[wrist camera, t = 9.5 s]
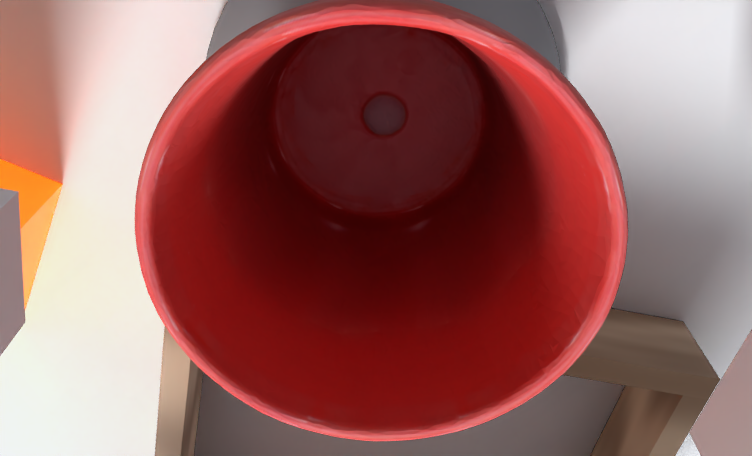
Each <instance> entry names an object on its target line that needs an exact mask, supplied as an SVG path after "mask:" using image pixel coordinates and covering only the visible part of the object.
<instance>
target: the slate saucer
mask: <svg viewBox="0 0 752 456" xmlns="http://www.w3.org/2000/svg"><path fill="white" fill-rule="evenodd" d="M314 1H318V0H229V1H228V2H227V4H226V5H225V7H224V9H223V11H222V14H221V16H220V18H219V20H218V22H217V24H216V26H215V29H214V32H213V35H212V39H211V42H210V45H209V48H208V53H207V59H208V58H209V57H210V56H212V55H213V54H214V53H215V52H216V51H217V50H218V49H220V48H221V47H222V46H224V45H225V44H226V43H228V42H229V41H231V40H232V39H233V38H235V37H236V36H237V35H239V34H241V33H242V32H244V31H246V30H247V29H249V28H251V27H252V26H254V25H256V24H258V23H260V22H262V21H264V20H266V19H268V18H270V17H272V16H275V15H277V14H279V13H281V12H284V11H287V10H289V9H292V8H295V7H298V6H301V5H304V4H307V3H311V2H314ZM432 1H436V2H439V3H443V4H446V5H449V6H452V7H455V8H457V9H460V10H463V11H465V12H468V13H470V14H473V15H475V16H477V17H480V18H482V19H484V20H487V21H489V22H491V23H493V24H495V25H496V26H498V27H500V28H502V29H504V30H506V31H508V32H509V33H511V34H512V35H514V36H516V37H517V38H519V39H520V40H522V41H523V42H525V43H526V44H528V45H529V46H531V47H532V48H533V49H534V50H536V51H537V52H538V53H540V54H541V55H542V56H543V57H545V58H546V59H547V60H548V61H549V62H550V63H551V64H553V65H554V66H555V67H556V68H557V69H558V70H559V71H560V72H561V70H560V63H559V55H558V51H557V47H556V44H555V40H554V37H553V33H552V30H551V28H550V26H549V23H548V21H547V19H546V16H545V14H544V12H543V10H542V8H541V6H540V5H539V3H538V1H537V0H432ZM207 59H206V60H207Z"/></svg>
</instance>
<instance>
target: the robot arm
mask: <svg viewBox="0 0 752 456" xmlns="http://www.w3.org/2000/svg"><path fill="white" fill-rule="evenodd" d="M24 323H25V306H24V287H23V267H22V248H21V229H20V209H19V191H14V190H8V189H3V188H0V356H1V354H2V353H3V351H4V350H5V349H6V347H7V346H8V345H9V343H10V342H11V341H12V339H13V338H14V337H15V335H16V334H17V332H18V331H19V330H20V328H21V327H22V326H23V324H24ZM689 433H690V435H691V437H692V439H693V441H694V443H695V445H696V447H697V449H698V451H699V453H700V455H701V456H752V329H751V331H750V333H749V334H748V336H747V338H746V339H745V341H744V343H743V344H742V346H741V348H740V349H739V351H738V353H737V354H736V356H735V358H734V359H733V361H732V363H731V364H730V366H729V368H728V369H727V371H726V373H725V374H724V376H723V377H722V379H721V381H720V382H719V384H718V386H717V387H716V389H715V391H714V392H713V394H712V396H711V397H710V399H709V401H708V402H707V404H706V406H705V407H704V409H703V411H702V412H701V414H700V416H699V417H698V419H697V421H696V422H695V424H694V426H693V427H692V429H691V431H690V432H689Z"/></svg>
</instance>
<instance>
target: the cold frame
mask: <svg viewBox="0 0 752 456" xmlns="http://www.w3.org/2000/svg"><path fill="white" fill-rule="evenodd" d="M562 375H567V376H573V377H579V378H585V379H590V380H596V381H602V382H608V383H614V384H620V385H625V388H624V390H623V392H622V394H621V396H620V398H619V400H618V402H617V404H616V406H615V408H614V410H613V412H612V414H611V416H610V418H609V420H608V422H607V424H606V426H605V428H604V430H603V432H602V433H601V435H600V437H599V439H598V441H597V443H596V445H595V447H594V449H593V451H592V453H591V455H590V456H675V455H676V453H677V452H678V450H679V448H680V446H681V445H682V443H683V441H684V440H685V438H686V436H687V435H688V433H689V431H690V429H691V428H692V426H693V424H694V423H695V421H696V419H697V418H698V416H699V414H700V413H701V411H702V409H703V407H704V406H705V404H706V402H707V401H708V399H709V397H710V396H711V394H712V392H713V391H714V389H715V387H716V385H717V384H718V382H719V380H720V379H719V377H718V375H717V374H716V372H715V371H714V369H713V368H712V366H711V364H710V363H709V361H708V360H707V358H706V357H705V355H704V353H703V352H702V350H701V349H700V347H699V346H698V344H697V342H696V341H695V339H694V338H693V336H692V335H691V333H690V331H689V330H688V328H687V327H686V325H685V324H684V322H683V321H677V320H672V319H666V318H661V317H655V316H650V315H644V314H639V313H633V312H628V311H622V310H617V309H610V311H609V313H608V315H607V317H606V319H605V321H604V323H603V325H602V327H601V328H600V329H599V331H598V333H597V334H596V336H595V337H594V338H593V340H592V341H591V343H590V344H589V345H588V347H587V348H586V349H585V351H584V352H583V353H582V354H581V355H580V357H579V358H578V359H577V360H576V361H575V362H574V363H573V364H572V365H571V367H570V368H569V369H568V370H567V371H566V372H565V373H564V374H562ZM202 380H203V371H202V370H201V369H200V368H199V367H198V366H197V365H196V364H195V363H194V362H193V361H192V360H191V359H190V358H189V357H188V356H187V355H186V353H185V352H184V351H183V350H182V349H181V347H180V346H179V345H178V343H177V342H176V341H175V340H174V338H173V337H172V336H171V334H170V333H169V331H168V330H167V328H166V326H165V330H164V343H163V356H162V369H161V382H160V395H159V408H158V421H157V434H156V447H155V456H194V450H195V441H196V432H197V424H198V415H199V406H200V398H201V389H202Z"/></svg>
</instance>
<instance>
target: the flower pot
mask: <svg viewBox="0 0 752 456" xmlns="http://www.w3.org/2000/svg"><path fill="white" fill-rule="evenodd" d="M135 235H136V245H137V251H138V256H139V261H140V266H141V271H142V274H143V278H144V281H145V284H146V287H147V290H148V293H149V295H150V298H151V300H152V302H153V304H154V306H155V308H156V311H157V313H158V315H159V316H160V318H161V320H162V321H163V323H164V325H165V326H166V328H167V330H168V331H169V333H170V334H171V336H172V337H173V338H174V340H175V341H176V342H177V343H178V345H179V346H180V347H181V349H182V350H183V351H184V352H185V353H186V355H187V356H188V357H189V358H190V359H191V360H192V361H193V362H194V363H195V364H196V365H197V366H198V367H199V368H200V369H201V370H202V371H203V372H204V373H205V374H206V375H208V376H209V377H210V378H211V379H212V380H214V381H215V382H216V383H217V384H219V385H220V386H221V387H222V388H224V389H225V390H226V391H228V392H229V393H231V394H232V395H233V396H235V397H236V398H238V399H239V400H241V401H243V402H244V403H246V404H247V405H249V406H251V407H252V408H254V409H256V410H258V411H259V412H261V413H263V414H265V415H268V416H270V417H272V418H275V419H277V420H279V421H282V422H284V423H286V424H289V425H292V426H295V427H298V428H301V429H305V430H309V431H312V432H316V433H320V434H325V435H329V436H333V437H339V438H347V439H354V440H363V441H401V440H414V439H421V438H428V437H434V436H440V435H444V434H448V433H453V432H457V431H461V430H465V429H468V428H471V427H474V426H477V425H480V424H483V423H485V422H487V421H490V420H492V419H494V418H497V417H499V416H501V415H503V414H505V413H507V412H509V411H510V410H512V409H514V408H516V407H518V406H520V405H522V404H523V403H525V402H527V401H528V400H530V399H531V398H533V397H534V396H536V395H537V394H539V393H540V392H542V391H543V390H544V389H545V388H547V387H548V386H549V385H550V384H552V383H553V382H554V381H555V380H557V379H558V378H559V377H560V376H561V375H562V374H564V373H565V372H566V371H567V370H568V369H569V368H570V367H571V365H572V364H573V363H574V362H575V361H576V360H577V359H578V358H579V357H580V355H581V354H582V353H583V352H584V351H585V349H586V348H587V347H588V345H589V344H590V343H591V341H592V340H593V338H594V337H595V336H596V334H597V333H598V331H599V329H600V328H601V327H602V325H603V323H604V321H605V319H606V317H607V315H608V313H609V311H610V309H611V306H612V304H613V302H614V299H615V296H616V293H617V291H618V288H619V284H620V281H621V277H622V273H623V269H624V265H625V258H626V250H627V241H628V212H627V204H626V197H625V192H624V187H623V182H622V177H621V173H620V170H619V167H618V164H617V160H616V157H615V155H614V152H613V150H612V147H611V144H610V142H609V140H608V138H607V136H606V133H605V131H604V129H603V128H602V126H601V124H600V123H599V121H598V119H597V118H596V116H595V115H594V113H593V112H592V110H591V109H590V107H589V106H588V104H587V103H586V101H585V100H584V99H583V97H582V96H581V95H580V94H579V92H578V91H577V90H576V89H575V87H574V86H573V85H572V84H571V83H570V82H569V81H568V79H567V78H566V77H565V76H564V75H563V74H562V73H561V72H560V71H559V70H558V69H557V68H556V67H555V66H554V65H553V64H551V63H550V62H549V61H548V60H547V59H546V58H545V57H543V56H542V55H541V54H540V53H538V52H537V51H536V50H534V49H533V48H532V47H531V46H529V45H528V44H526V43H525V42H523V41H522V40H520V39H519V38H517V37H516V36H514V35H512V34H511V33H509V32H508V31H506V30H504V29H502V28H500V27H498V26H496V25H495V24H493V23H491V22H489V21H487V20H484V19H482V18H480V17H477V16H475V15H473V14H470V13H468V12H465V11H463V10H460V9H457V8H455V7H452V6H449V5H446V4H443V3H439V2H436V1H432V0H318V1H314V2H311V3H307V4H304V5H301V6H298V7H295V8H292V9H289V10H287V11H284V12H281V13H279V14H277V15H275V16H272V17H270V18H268V19H266V20H264V21H262V22H260V23H258V24H256V25H254V26H252V27H251V28H249V29H247V30H246V31H244V32H242V33H241V34H239V35H237V36H236V37H235V38H233V39H232V40H231V41H229V42H228V43H226V44H225V45H224V46H222V47H221V48H220V49H218V50H217V51H216V52H215V53H214V54H213V55H212V56H210V57H209V58H208V59H207V60H206V61H205V62H204V63H203V64H202V65H201V66H200V67H199V68H198V69H197V70H196V71H195V72H194V73H193V74H192V75H191V76H190V77H189V78H188V80H187V81H186V82H185V83H184V84H183V86H182V87H181V88H180V89H179V91H178V92H177V93H176V95H175V96H174V97H173V99H172V101H171V102H170V104H169V105H168V107H167V108H166V110H165V111H164V113H163V115H162V117H161V119H160V121H159V123H158V125H157V127H156V129H155V131H154V133H153V136H152V138H151V140H150V143H149V145H148V148H147V151H146V154H145V157H144V160H143V164H142V168H141V172H140V176H139V180H138V186H137V193H136V205H135Z"/></svg>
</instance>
